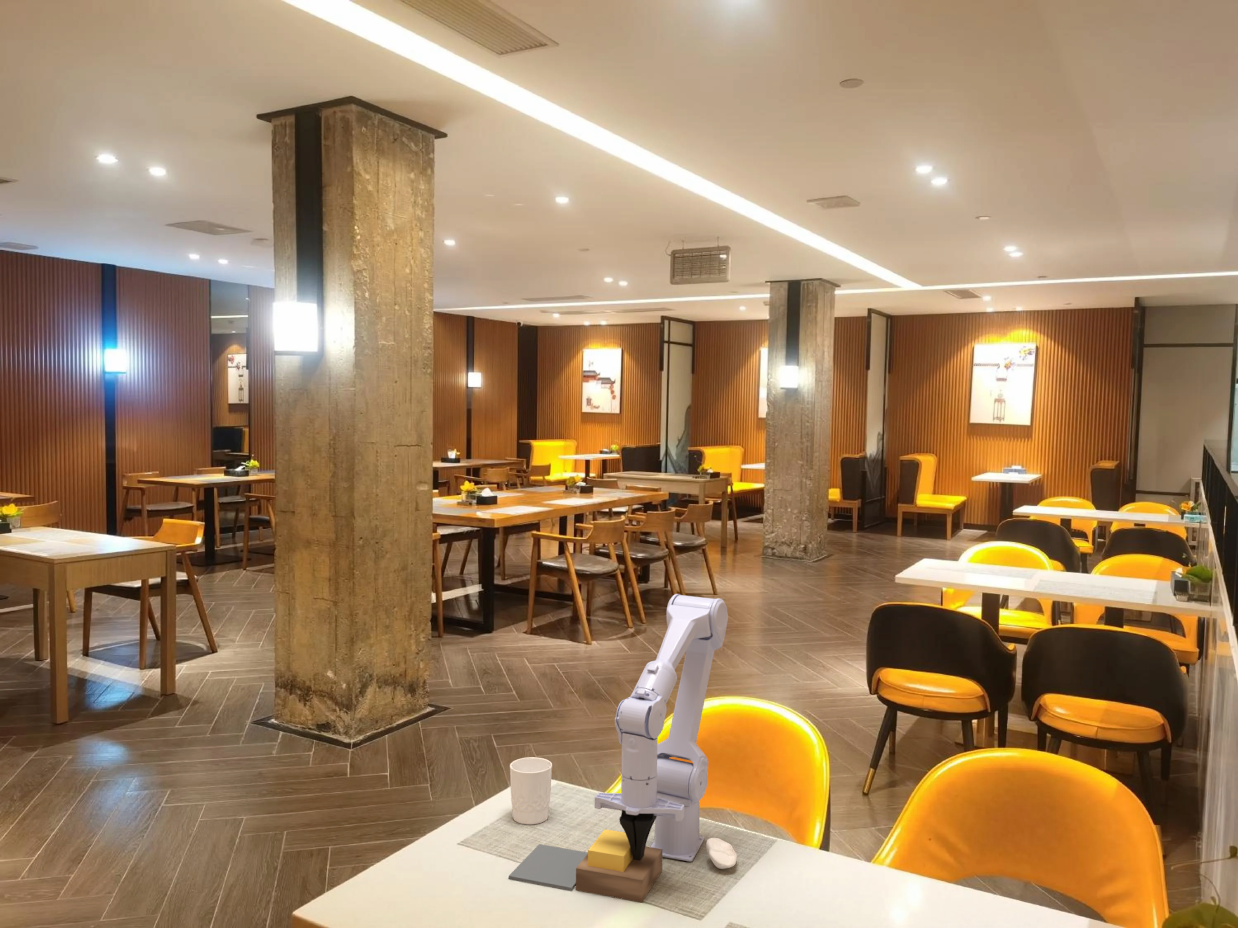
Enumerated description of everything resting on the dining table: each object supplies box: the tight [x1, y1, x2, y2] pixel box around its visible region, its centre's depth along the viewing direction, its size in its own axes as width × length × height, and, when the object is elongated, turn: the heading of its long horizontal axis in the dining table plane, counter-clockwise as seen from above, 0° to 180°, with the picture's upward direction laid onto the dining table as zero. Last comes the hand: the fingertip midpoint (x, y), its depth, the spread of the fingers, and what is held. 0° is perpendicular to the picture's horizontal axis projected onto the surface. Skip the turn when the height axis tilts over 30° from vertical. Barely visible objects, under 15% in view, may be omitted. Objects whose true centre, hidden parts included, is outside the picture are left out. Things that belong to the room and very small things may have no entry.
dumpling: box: [705, 837, 738, 870], centre depth 150 cm, size 7×5×4 cm
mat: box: [508, 843, 588, 892], centre depth 149 cm, size 12×11×1 cm
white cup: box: [509, 756, 553, 825], centre depth 168 cm, size 8×8×10 cm
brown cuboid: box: [575, 845, 663, 903], centre depth 145 cm, size 11×11×4 cm
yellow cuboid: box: [587, 829, 633, 872], centre depth 145 cm, size 8×6×2 cm
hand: (638, 857), depth 144 cm, fingers closed
